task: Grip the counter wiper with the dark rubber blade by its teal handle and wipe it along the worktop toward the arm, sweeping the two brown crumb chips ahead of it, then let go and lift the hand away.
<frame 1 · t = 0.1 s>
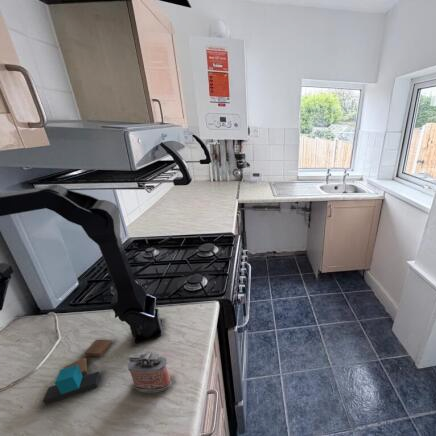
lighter: (153, 385, 54), on the table
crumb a: (76, 371, 56), on the table
wiper: (74, 389, 53), on the table
crumb b: (99, 349, 62), on the table
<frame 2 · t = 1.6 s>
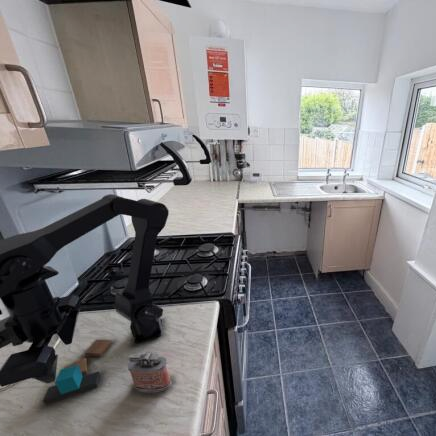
hand: (60, 361, 50), 9 cm above the table, tool pointing down, fingers open, 9 cm apart
nothing on the table moved.
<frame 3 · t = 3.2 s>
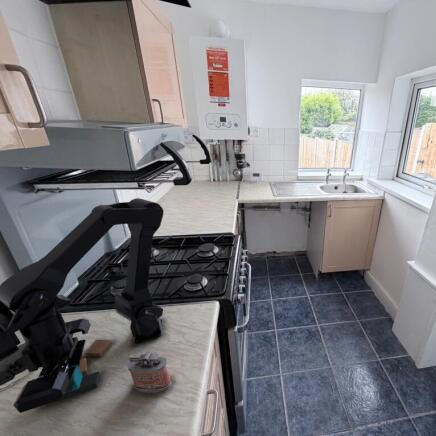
hand: (71, 383, 52), 2 cm above the table, tool pointing down, fingers closed on wiper, 3 cm apart
wiper: (74, 389, 53), on the table, touching gripper
everything else where it was.
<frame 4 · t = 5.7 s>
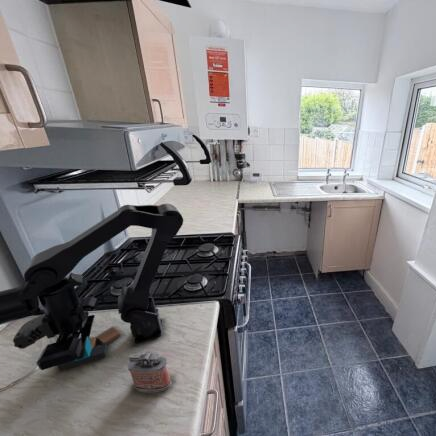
hand: (82, 352, 59), 2 cm above the table, tool pointing down, fingers closed on wiper, 3 cm apart
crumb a: (86, 348, 62), on the table, touching wiper
wiper: (84, 358, 59), on the table, touching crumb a, gripper
crumb b: (109, 337, 65), on the table
everything else where it was.
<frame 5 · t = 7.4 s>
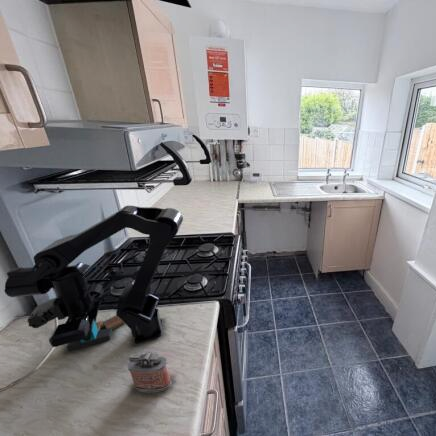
hand: (89, 335, 63), 2 cm above the table, tool pointing down, fingers closed on wiper, 3 cm apart
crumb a: (92, 331, 67), on the table, touching wiper
wiper: (91, 340, 64), on the table, touching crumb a, crumb b, gripper
crumb b: (114, 324, 69), on the table, touching wiper
everything else where it was.
when the fingers open (2 cm above the table, at t = 7.7 s): wiper stays where it is, on the table.
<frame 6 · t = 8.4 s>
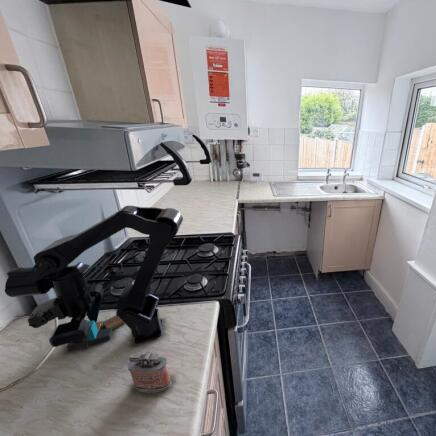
hand: (89, 334, 64), 2 cm above the table, tool pointing down, fingers open, 9 cm apart
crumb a: (92, 331, 67), on the table
wiper: (91, 340, 64), on the table
crumb b: (114, 324, 70), on the table
everything else where it was.
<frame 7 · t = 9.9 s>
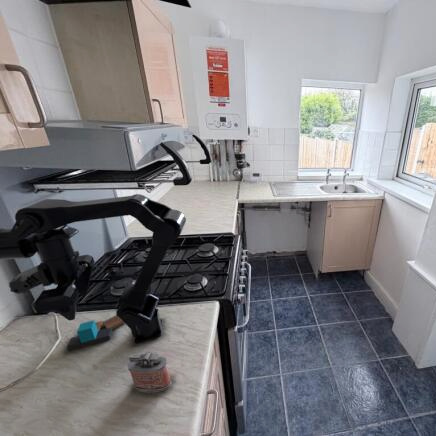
hand: (78, 306, 60), 12 cm above the table, tool pointing down, fingers open, 9 cm apart
nothing on the table moved.
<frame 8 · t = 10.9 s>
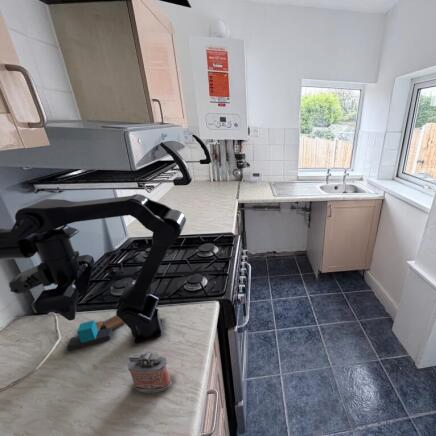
hand: (78, 306, 60), 12 cm above the table, tool pointing down, fingers open, 9 cm apart
nothing on the table moved.
at the end: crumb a inside the target area (0.6 cm from its centre), on the table; crumb b inside the target area (4.3 cm from its centre), on the table; wiper moved 13.8 cm from its start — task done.
